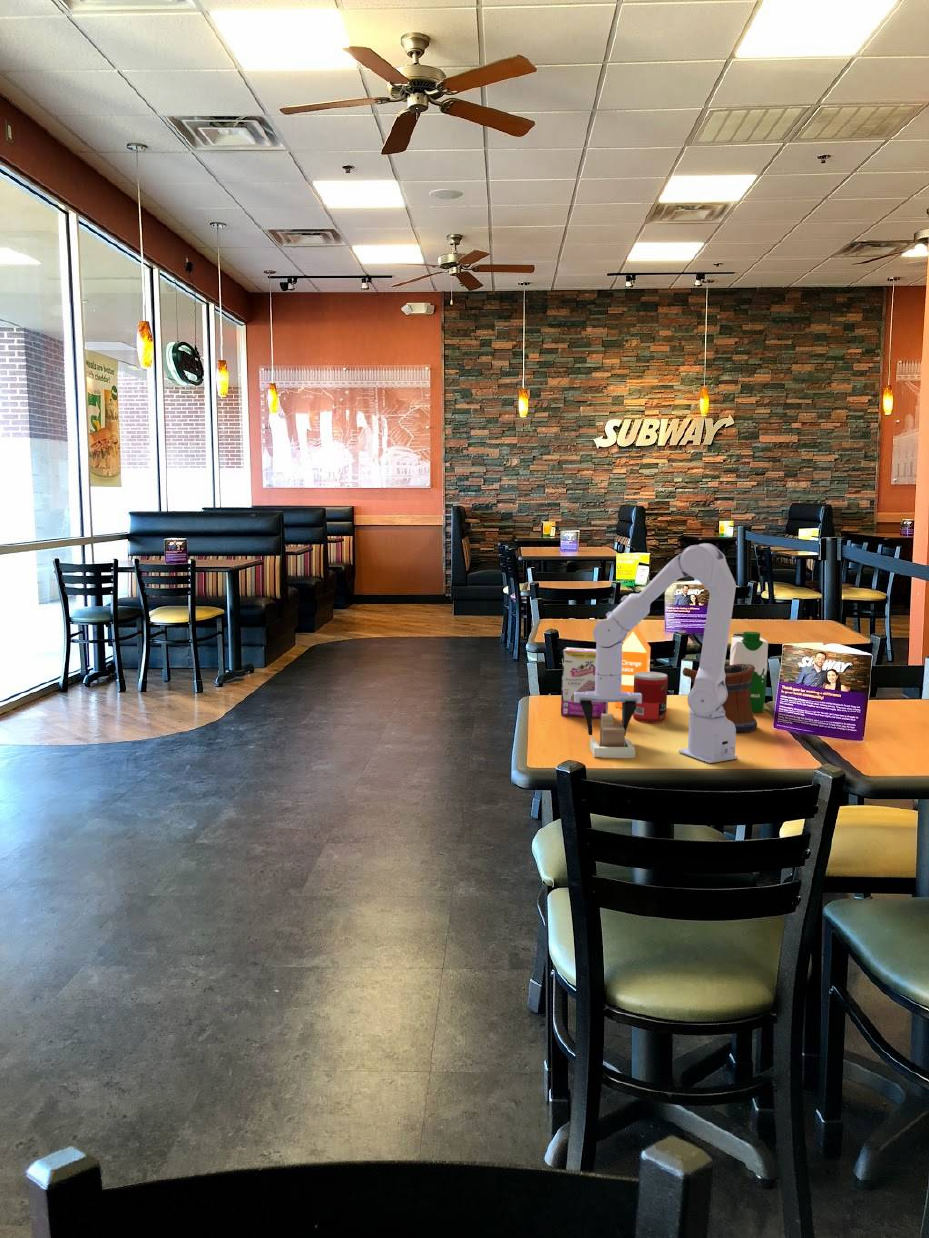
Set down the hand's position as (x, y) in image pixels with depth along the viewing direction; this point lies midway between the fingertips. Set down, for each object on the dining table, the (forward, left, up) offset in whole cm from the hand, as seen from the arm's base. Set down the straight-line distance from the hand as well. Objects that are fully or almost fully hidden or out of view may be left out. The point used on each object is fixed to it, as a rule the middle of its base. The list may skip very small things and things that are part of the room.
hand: (606, 734), depth 205 cm
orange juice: (+26, -28, -2) cm, 38 cm away
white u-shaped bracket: (-7, +4, -2) cm, 9 cm away
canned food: (+12, -22, -2) cm, 25 cm away
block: (-4, +2, -2) cm, 5 cm away
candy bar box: (+22, -10, -2) cm, 24 cm away
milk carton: (+9, -51, -2) cm, 52 cm away
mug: (-2, -31, -2) cm, 31 cm away
